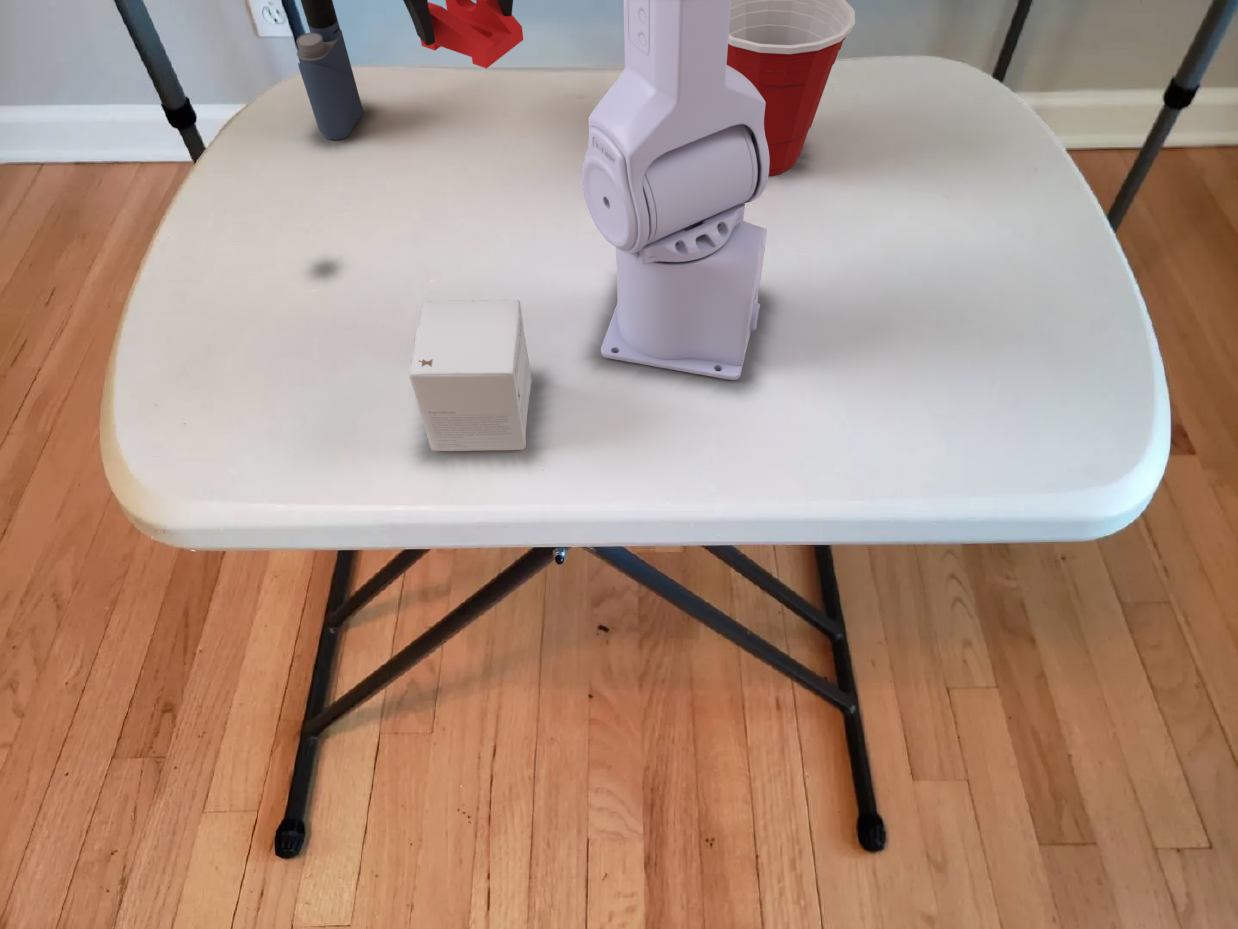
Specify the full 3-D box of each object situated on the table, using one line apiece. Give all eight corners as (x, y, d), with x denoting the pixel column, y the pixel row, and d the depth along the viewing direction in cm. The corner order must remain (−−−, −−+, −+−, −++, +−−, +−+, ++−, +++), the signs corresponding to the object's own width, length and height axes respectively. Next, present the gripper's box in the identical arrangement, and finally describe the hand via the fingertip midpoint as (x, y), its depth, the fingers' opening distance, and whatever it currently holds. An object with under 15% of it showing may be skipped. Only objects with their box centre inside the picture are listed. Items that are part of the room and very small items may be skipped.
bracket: (421, 45, 72) (414, 8, 70) (459, 18, 75) (453, -19, 72) (486, 68, 70) (481, 30, 68) (523, 39, 72) (519, 1, 70)
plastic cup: (817, 112, 78) (842, -33, 68) (840, 192, 71) (871, 44, 62) (690, 117, 78) (696, -28, 68) (701, 197, 71) (710, 51, 62)
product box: (526, 453, 57) (513, 374, 51) (429, 453, 57) (405, 375, 51) (533, 379, 60) (521, 297, 55) (441, 380, 61) (420, 298, 55)
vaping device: (368, 108, 79) (331, -35, 70) (344, 143, 76) (301, 0, 67) (341, 104, 80) (300, -38, 70) (316, 139, 77) (269, -4, 67)
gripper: (505, -217, 64) (525, -20, 75) (307, -172, 60) (359, 29, 71) (552, -184, 61) (565, 17, 72) (344, -134, 56) (392, 72, 67)
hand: (465, 26), depth 71 cm, fingers closed on bracket, 6 cm apart
